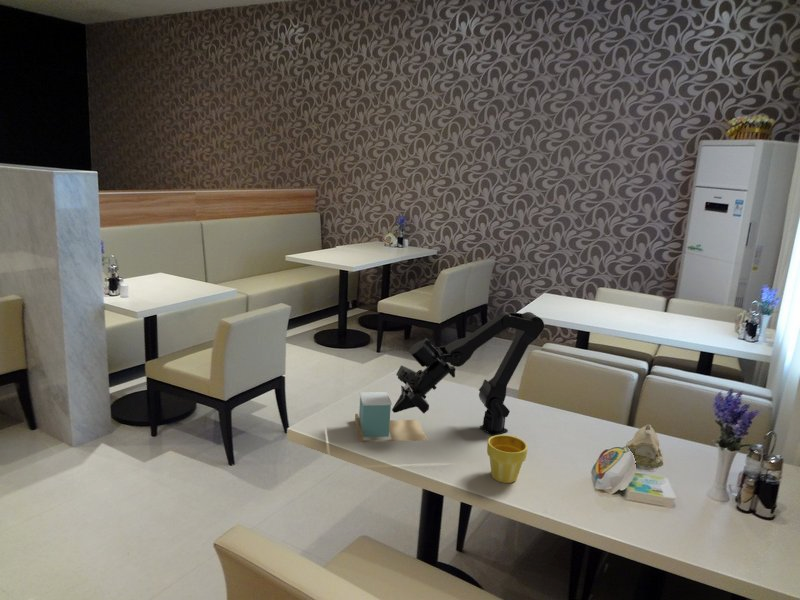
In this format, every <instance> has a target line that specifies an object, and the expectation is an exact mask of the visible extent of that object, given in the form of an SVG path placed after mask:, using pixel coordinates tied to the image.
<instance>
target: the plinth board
mask: <svg viewBox="0 0 800 600" xmlns="http://www.w3.org/2000/svg"><path fill="white" fill-rule="evenodd" d="M354 423H355V428H356V430H357V431H356V432H357V435H358V440H359V442H360V443H370V442H371V443H375V442H378V443H379V442H383V443H384V442H412V441H413V442H416V441H418V442H419V441H421V442H423V441H428V438H427V436H426V434H425V432H424V430H423V427H422V426H421V424H420V422H419V420H418V419H393V420H392V419H390V424H389V436H385V437H363V431H362V427H361V423H360V420H359V413H355V414H354Z"/></svg>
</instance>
